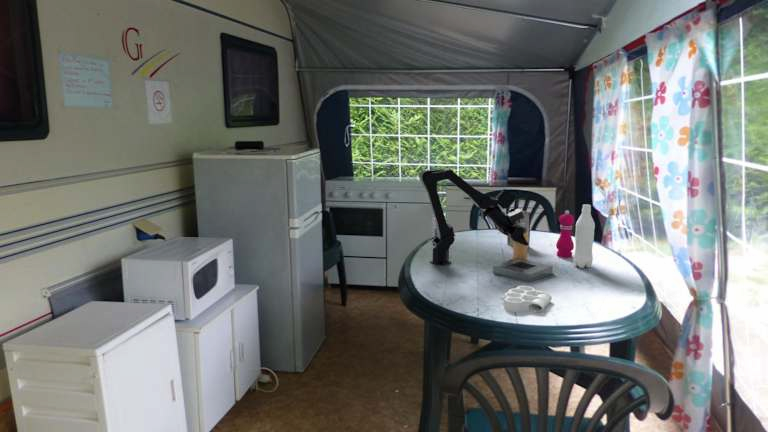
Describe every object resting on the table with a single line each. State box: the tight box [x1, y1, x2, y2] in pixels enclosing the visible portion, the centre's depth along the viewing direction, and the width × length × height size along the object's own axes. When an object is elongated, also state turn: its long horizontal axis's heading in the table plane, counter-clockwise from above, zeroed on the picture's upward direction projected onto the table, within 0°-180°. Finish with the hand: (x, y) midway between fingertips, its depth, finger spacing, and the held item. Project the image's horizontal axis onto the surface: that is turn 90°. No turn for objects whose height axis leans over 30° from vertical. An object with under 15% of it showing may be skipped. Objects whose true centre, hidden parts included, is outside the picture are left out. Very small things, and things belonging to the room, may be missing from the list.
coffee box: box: [506, 210, 532, 248], centre depth 244 cm, size 9×6×16 cm
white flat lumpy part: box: [499, 285, 553, 313], centre depth 171 cm, size 3×18×15 cm
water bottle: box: [572, 203, 596, 269], centre depth 209 cm, size 7×7×25 cm
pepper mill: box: [555, 209, 575, 259], centre depth 225 cm, size 7×7×20 cm
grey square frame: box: [492, 258, 554, 283], centre depth 203 cm, size 16×16×3 cm
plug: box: [512, 223, 528, 260], centre depth 220 cm, size 6×6×16 cm
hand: (523, 242), depth 220 cm, fingers open, 9 cm apart
